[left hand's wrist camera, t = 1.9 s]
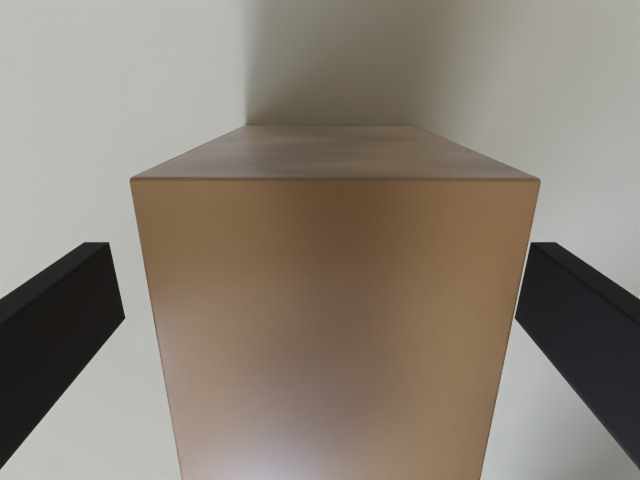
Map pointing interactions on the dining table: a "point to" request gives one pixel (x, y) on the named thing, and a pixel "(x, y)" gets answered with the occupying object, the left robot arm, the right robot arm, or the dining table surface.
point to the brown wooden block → (333, 300)
